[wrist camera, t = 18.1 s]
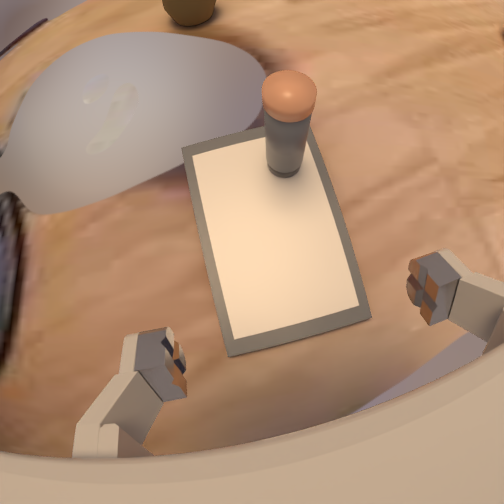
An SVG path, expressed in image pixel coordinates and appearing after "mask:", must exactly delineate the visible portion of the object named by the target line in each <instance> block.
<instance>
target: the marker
mask: <svg viewBox="0 0 504 504" xmlns="http://www.w3.org/2000/svg"><path fill="white" fill-rule="evenodd" d="M316 95H317V89H316V86H315V84H314V82H313V81H312V80H311V79H310V78H309V77H308V76H306V75H305V74H303V73H300V72H297V71H292V70H283V71H278V72H275V73H273V74H271V75H270V76H268V77H267V78H266V79H265V81H264V82H263V85H262V102H263V107H264V117H265V142H266V160H267V165H268V168H269V170H270V172H271V173H272V174H274V175H275V176H277V177H280V178H289V177H292V176H294V175H295V174H296V173H297V172H298V171H299V169H300V166H301V164H302V161H303V156H304V151H305V146H306V141H307V136H308V130H309V125H310V120H311V114H312V112H313V110H314V106H315V100H316Z"/></svg>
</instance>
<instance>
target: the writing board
mask: <svg viewBox="0 0 504 504" xmlns="http://www.w3.org/2000/svg"><path fill="white" fill-rule="evenodd" d="M182 154H183V158H184V164H185V169H186V175H187V180H188V185H189V190H190V195H191V200H192V205H193V209H194V214H195V219H196V224H197V228H198V233H199V238H200V242H201V247H202V251H203V256H204V260H205V265H206V269H207V273H208V278H209V282H210V286H211V291H212V295H213V299H214V303H215V307H216V311H217V315H218V319H219V323H220V327H221V331H222V335H223V339H224V343H225V347H226V351H227V355H228V357H231V356H235V355H239V354H244V353H248V352H252V351H256V350H261V349H265V348H269V347H273V346H276V345H280V344H284V343H288V342H292V341H295V340H299V339H303V338H306V337H310V336H313V335H317V334H320V333H324V332H327V331H331V330H334V329H337V328H341V327H344V326H347V325H350V324H354V323H357V322H360V321H363V320H366V319H369V318H372V316H371V312H370V308H369V304H368V300H367V296H366V293H365V289H364V285H363V282H362V278H361V274H360V271H359V267H358V264H357V260H356V257H355V254H354V250H353V247H352V244H351V241H350V237H349V234H348V231H347V228H346V225H345V222H344V218H343V215H342V212H341V209H340V206H339V203H338V200H337V197H336V195H335V192H334V189H333V186H332V183H331V180H330V178H329V175H328V172H327V169H326V166H325V164H324V161H323V158H322V156H321V153H320V150H319V148H318V145H317V143H316V140H315V137H314V135H313V132H312V130H311V127H310V125H309V130H308V136H307V141H306V146H305V151H304V156H303V161H302V164H301V166H300V169H299V171H298V172H297V173H296V174H295V175H294V176H292V177H289V178H280V177H277V176H275V175H274V174H272V173H271V172H270V170H269V168H268V165H267V160H266V142H265V126H263V127H259V128H254V129H250V130H246V131H242V132H238V133H234V134H230V135H226V136H222V137H218V138H214V139H211V140H208V141H204V142H200V143H197V144H193V145H189V146H186V147H183V148H182Z"/></svg>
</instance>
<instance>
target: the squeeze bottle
mask: <svg viewBox="0 0 504 504" xmlns="http://www.w3.org/2000/svg"><path fill="white" fill-rule="evenodd" d="M162 2H163V6H164V9H165V11H166V12H167V13H168V14H169V15H170V16H171V17H172V18H173V19H174V20H175V21H176V22H177V23H178V24H180V25H184V26H191V25H197V24H200V23H203V22H205V21H206V20H208V19H209V18H210V17H211V16H212V14H213V10H214V6H215V2H216V0H162Z"/></svg>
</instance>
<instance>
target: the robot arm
mask: <svg viewBox="0 0 504 504" xmlns="http://www.w3.org/2000/svg"><path fill="white" fill-rule="evenodd" d="M408 270H409V271H410V272H411V274H410V276H409V277H408V279H407V285H406V288H407V293H408V296H409V298H410V300H411V302H412V303H413V305H415V306H418V307H420V314H421V316H422V317H423V318H424V320H425V321H426V323H427V324H428V325H429V326H431V325H433V324H436V323H438V322H441V321H443V320H446V319H448V318H449V319H448V320H450V321H451V322H453V323H455V324H457V325H458V326H460V327H462V328H464V329H465V330H467V331H469V332H470V333H472V334H474V335H476V336H477V337H479V338H481V339H482V340H484V341H486V342H487V345H486V347H485V349H484V351H483V354H482V356H480V357H479V358H477V359H475V360H473V361H471V362H469V363H468V364H466V365H464V366H462V367H460V368H458V369H456V370H454V371H452V372H450V373H448V374H446V375H444V376H443V377H440V378H439V379H436V380H434V381H432V382H430V383H428V384H426V385H423V386H421V387H419V388H417V389H415V390H412V391H410V392H408V393H405V394H403V395H401V396H398V397H396V398H393V399H391V400H389V401H386V402H384V403H381V404H378V405H376V406H373V407H370V408H368V409H365V410H363V411H360V412H357V413H354V414H351V415H348V416H345V417H342V418H339V419H336V420H333V421H330V422H327V423H323V424H320V425H317V426H313V427H310V428H306V429H303V430H299V431H295V432H292V433H288V434H284V435H280V436H276V437H271V438H267V439H263V440H258V441H253V442H249V443H244V444H239V445H233V446H228V447H222V448H216V449H210V450H203V451H196V452H188V453H180V454H170V455H160V456H154V455H153V454H152V453H151V452H149V451H148V450H147V449H145V448H144V447H143V446H142V443H143V442H144V440H145V438H146V436H147V434H148V432H149V430H150V428H151V426H152V424H153V423H154V421H155V419H156V417H157V415H158V413H159V411H160V409H161V407H162V405H163V404H164V403H163V402H166V401H171V400H177V399H182V398H187V381H186V379H185V378H184V376H183V374H184V372H185V371H186V361H185V356H184V353H183V350H182V348H181V346H180V344H179V343H178V342H176V341H174V333H173V331H172V330H171V328H170V327H164V328H159V329H154V330H148V331H143V332H140V333H134V334H128V335H126V336H125V338H124V342H123V348H122V355H121V361H120V368H119V374H117V375H114V377H113V378H112V379H111V380H110V382H109V383H108V384H107V386H106V387H105V388H104V389H103V391H102V392H101V393H100V395H99V396H98V397H97V398H96V400H95V401H94V402H93V404H92V405H91V406H90V407H89V409H88V410H87V411H86V413H85V414H84V415H83V417H82V418H81V419H80V421H79V422H78V423H77V424H76V431H75V438H74V445H73V453H72V458H64V457H48V456H36V455H26V454H17V453H10V452H3V451H0V504H504V282H501V281H499V280H496V279H493V278H491V277H488V276H485V275H483V274H480V273H477V272H475V273H472V272H471V271H470V270H469V269H468V268H467V267H466V266H465V265H464V264H463V263H462V262H461V261H460V260H459V259H458V258H457V257H456V256H455V255H454V254H453V253H452V252H451V251H450V250H449V249H447V248H443V249H440V250H437V251H435V252H432V253H429V254H426V255H423V256H421V257H418V258H415V259H412V260H411V261H410V263H409V267H408Z"/></svg>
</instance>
